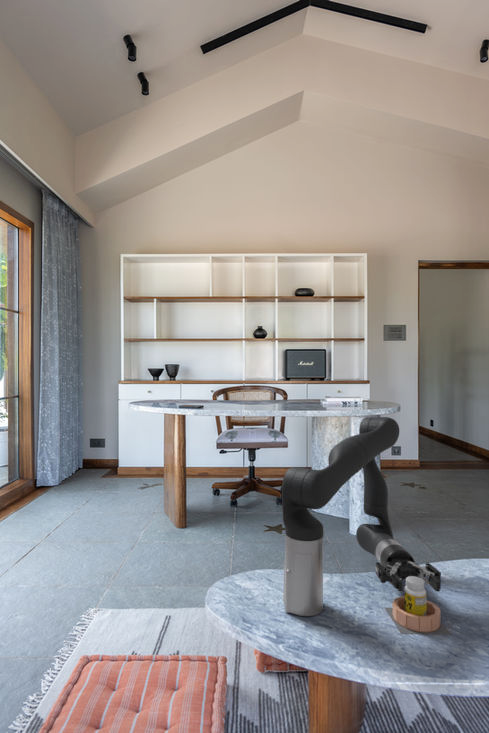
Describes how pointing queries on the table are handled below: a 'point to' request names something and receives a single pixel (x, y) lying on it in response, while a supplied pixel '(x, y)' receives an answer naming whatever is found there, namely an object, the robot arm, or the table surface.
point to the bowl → (416, 617)
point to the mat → (406, 631)
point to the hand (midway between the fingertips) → (419, 587)
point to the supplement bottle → (415, 596)
